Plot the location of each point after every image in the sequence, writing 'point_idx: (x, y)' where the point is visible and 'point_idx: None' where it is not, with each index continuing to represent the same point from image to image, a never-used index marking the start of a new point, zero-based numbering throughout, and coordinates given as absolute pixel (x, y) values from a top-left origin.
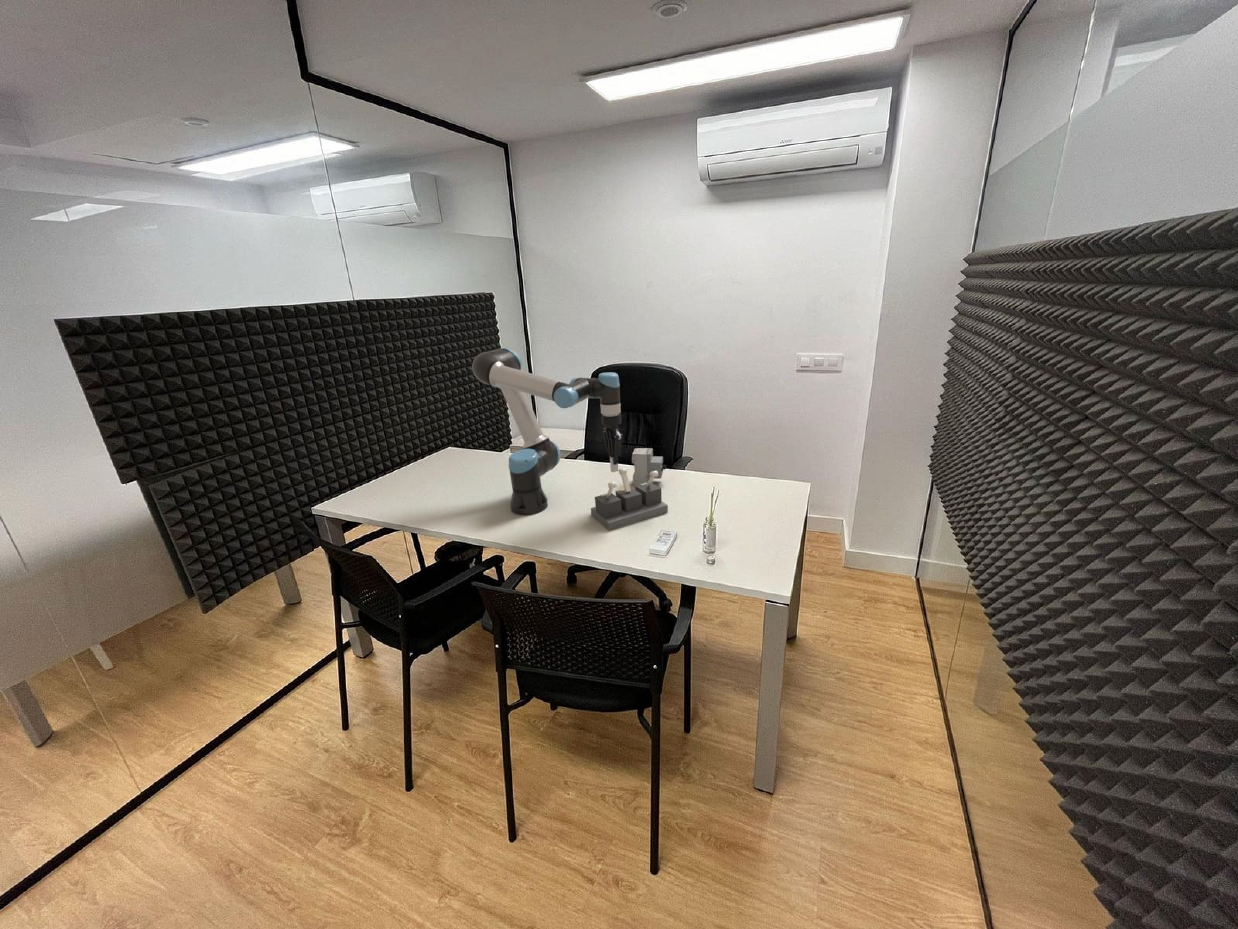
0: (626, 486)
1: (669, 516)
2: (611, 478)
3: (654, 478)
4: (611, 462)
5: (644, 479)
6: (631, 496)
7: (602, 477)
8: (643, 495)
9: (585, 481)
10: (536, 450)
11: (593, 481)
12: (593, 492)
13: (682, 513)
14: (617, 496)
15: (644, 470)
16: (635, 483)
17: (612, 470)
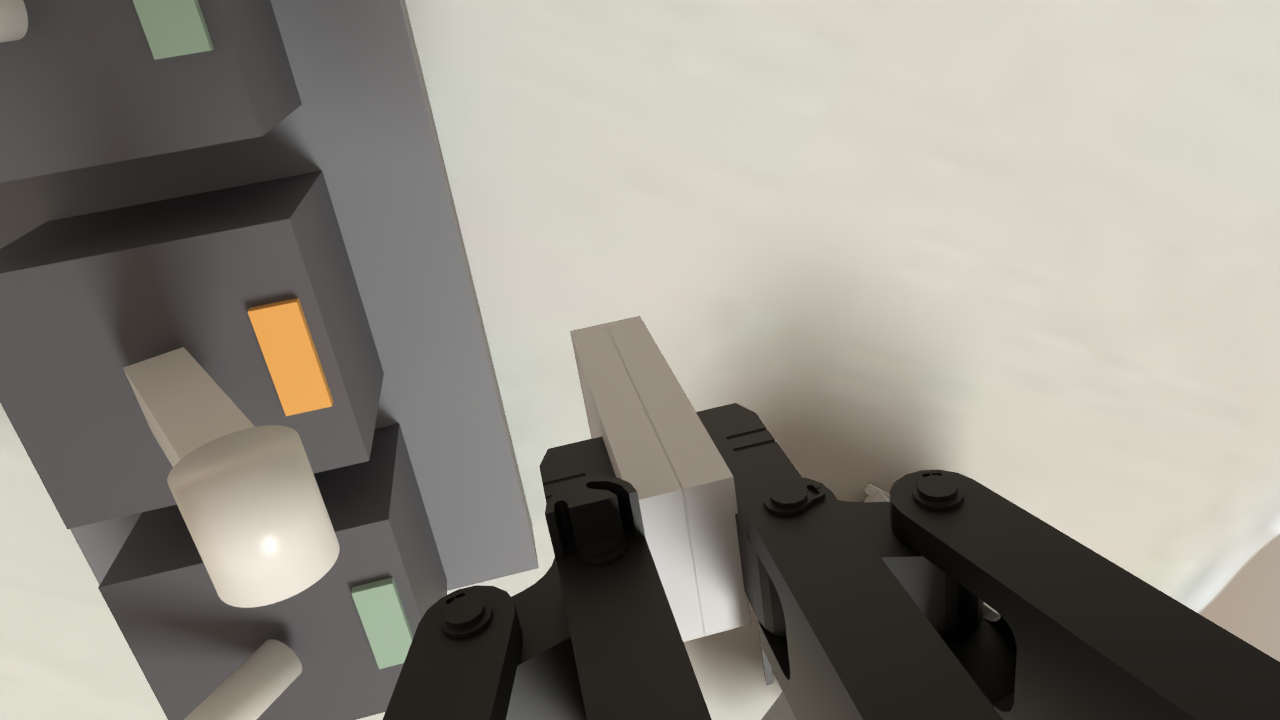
0: (144, 404)
1: (62, 603)
2: (1132, 345)
3: (779, 696)
4: (624, 419)
5: None
6: (4, 384)
7: (1210, 271)
8: None
9: (1248, 70)
10: None
11: (1191, 154)
12: (947, 64)
13: (99, 710)
14: (243, 213)
15: None
16: None
17: (576, 349)
